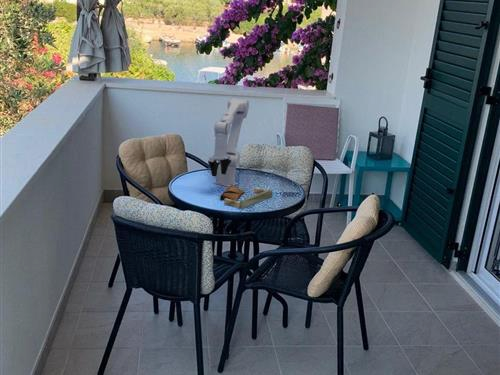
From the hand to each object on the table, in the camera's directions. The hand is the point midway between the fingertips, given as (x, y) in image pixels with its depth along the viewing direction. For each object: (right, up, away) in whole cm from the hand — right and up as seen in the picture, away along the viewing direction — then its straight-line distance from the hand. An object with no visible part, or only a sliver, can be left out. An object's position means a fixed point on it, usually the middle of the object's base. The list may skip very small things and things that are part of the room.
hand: (218, 175), depth 273 cm
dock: (+14, -12, -6) cm, 19 cm away
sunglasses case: (+7, -11, -2) cm, 13 cm away
